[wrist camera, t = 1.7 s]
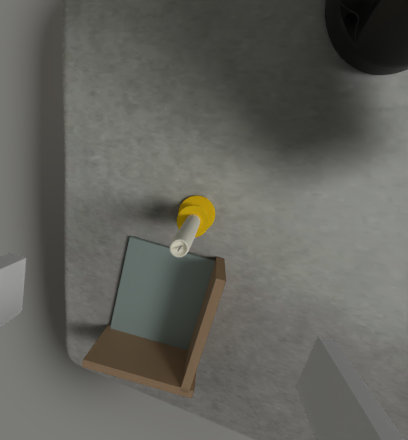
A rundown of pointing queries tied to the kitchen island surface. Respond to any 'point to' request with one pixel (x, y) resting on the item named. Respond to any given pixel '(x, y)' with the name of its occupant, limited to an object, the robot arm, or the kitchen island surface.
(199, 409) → the kitchen island surface
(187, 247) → the candle
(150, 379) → the open room model
